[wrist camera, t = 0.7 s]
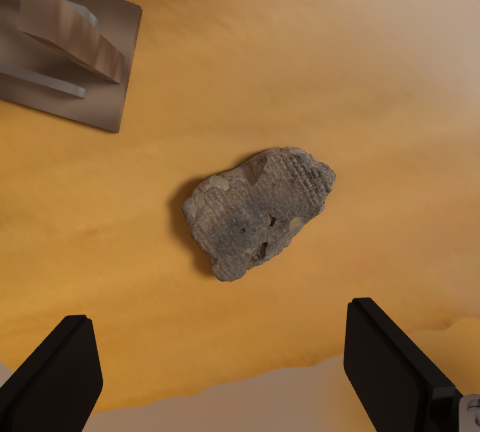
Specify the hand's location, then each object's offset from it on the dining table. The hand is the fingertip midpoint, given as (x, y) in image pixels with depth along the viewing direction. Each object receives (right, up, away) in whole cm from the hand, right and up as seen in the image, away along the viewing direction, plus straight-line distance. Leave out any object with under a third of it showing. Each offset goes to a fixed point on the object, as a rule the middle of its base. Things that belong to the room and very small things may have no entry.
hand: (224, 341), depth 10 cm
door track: (-22, +24, +22) cm, 39 cm away
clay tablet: (+3, +6, +29) cm, 29 cm away
